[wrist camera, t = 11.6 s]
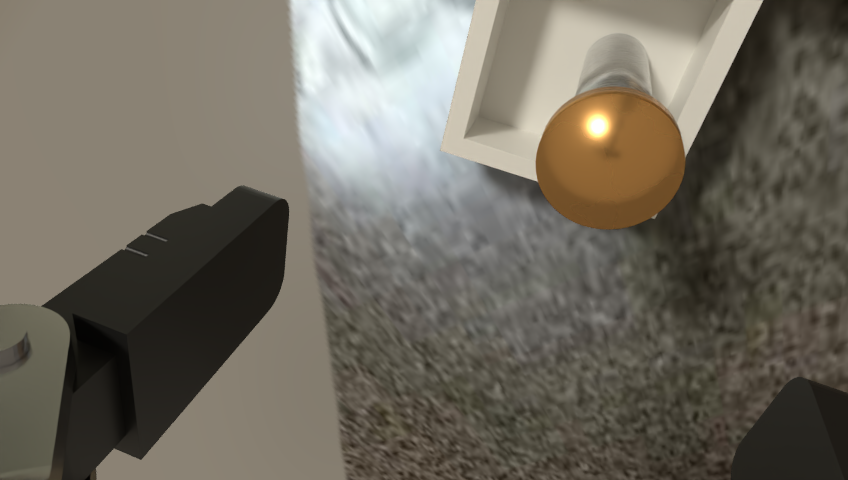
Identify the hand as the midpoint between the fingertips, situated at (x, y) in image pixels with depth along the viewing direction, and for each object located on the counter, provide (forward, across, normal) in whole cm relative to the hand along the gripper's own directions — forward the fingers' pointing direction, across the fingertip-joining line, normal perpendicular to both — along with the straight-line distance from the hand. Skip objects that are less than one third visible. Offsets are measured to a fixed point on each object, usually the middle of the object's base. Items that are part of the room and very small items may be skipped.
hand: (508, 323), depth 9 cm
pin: (+23, -2, +1) cm, 23 cm away
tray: (+24, 0, +1) cm, 24 cm away
